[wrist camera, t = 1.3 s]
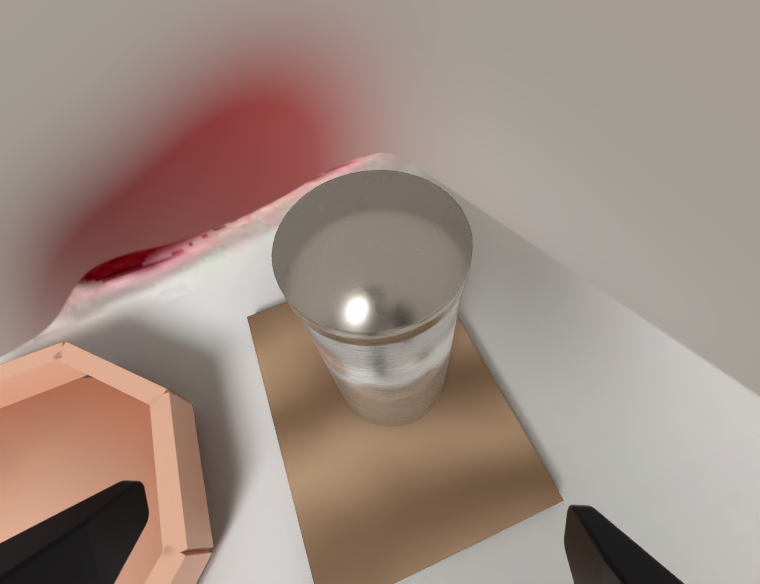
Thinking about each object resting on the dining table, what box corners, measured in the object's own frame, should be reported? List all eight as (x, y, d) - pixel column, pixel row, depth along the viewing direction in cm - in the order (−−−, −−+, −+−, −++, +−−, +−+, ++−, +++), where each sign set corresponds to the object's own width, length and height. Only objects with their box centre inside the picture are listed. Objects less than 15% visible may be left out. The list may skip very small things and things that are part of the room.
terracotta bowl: (244, 686, 17) (207, 720, 14) (-233, 925, 15) (-401, 1027, 12) (188, 332, 26) (159, 306, 23) (-112, 445, 24) (-189, 433, 21)
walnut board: (558, 501, 19) (563, 500, 19) (326, 615, 18) (322, 618, 17) (420, 258, 27) (420, 251, 27) (251, 322, 26) (246, 317, 25)
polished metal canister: (467, 400, 21) (512, 282, 11) (359, 448, 21) (303, 366, 10) (418, 308, 25) (419, 149, 14) (323, 346, 24) (252, 206, 14)
